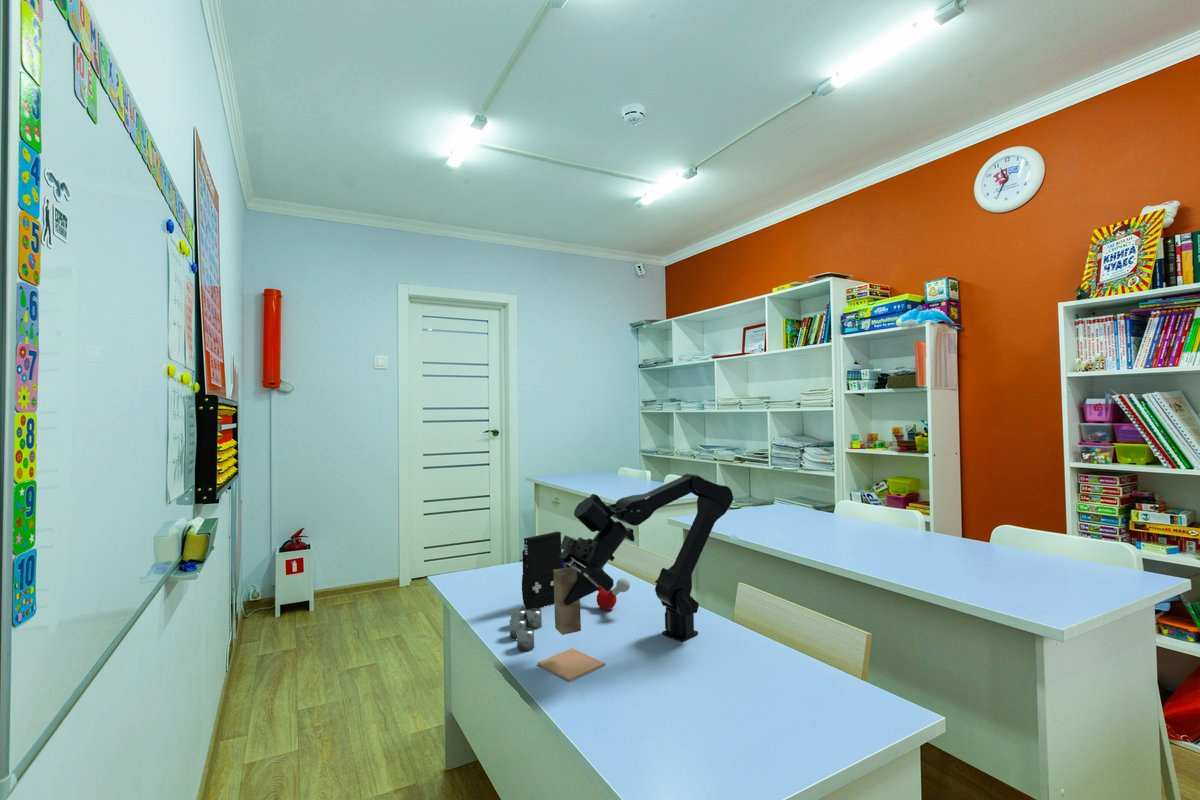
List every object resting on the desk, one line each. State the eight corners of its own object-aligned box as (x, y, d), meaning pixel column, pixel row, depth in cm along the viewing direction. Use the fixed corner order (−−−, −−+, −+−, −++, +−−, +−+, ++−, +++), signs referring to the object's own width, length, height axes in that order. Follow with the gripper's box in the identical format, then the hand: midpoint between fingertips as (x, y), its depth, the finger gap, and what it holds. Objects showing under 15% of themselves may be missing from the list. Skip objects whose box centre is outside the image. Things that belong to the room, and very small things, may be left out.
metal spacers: (543, 622, 148) (542, 607, 148) (532, 651, 131) (532, 634, 131) (512, 623, 148) (512, 607, 148) (498, 652, 131) (498, 634, 131)
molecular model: (634, 615, 151) (633, 578, 152) (618, 620, 148) (617, 582, 148) (596, 598, 166) (595, 564, 166) (580, 602, 162) (579, 568, 163)
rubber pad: (604, 665, 123) (604, 662, 123) (569, 681, 116) (569, 678, 116) (572, 650, 131) (572, 648, 131) (537, 664, 124) (537, 662, 124)
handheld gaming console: (530, 612, 156) (528, 539, 156) (520, 608, 159) (519, 537, 160) (564, 601, 164) (562, 532, 164) (555, 597, 167) (553, 530, 168)
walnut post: (573, 624, 128) (571, 566, 128) (580, 630, 124) (579, 571, 124) (555, 628, 126) (553, 569, 126) (562, 635, 122) (560, 574, 122)
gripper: (565, 515, 136) (523, 568, 131) (598, 529, 119) (551, 591, 114) (596, 544, 139) (555, 596, 134) (632, 562, 122) (587, 622, 117)
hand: (561, 600), depth 125 cm, fingers closed on walnut post, 4 cm apart
